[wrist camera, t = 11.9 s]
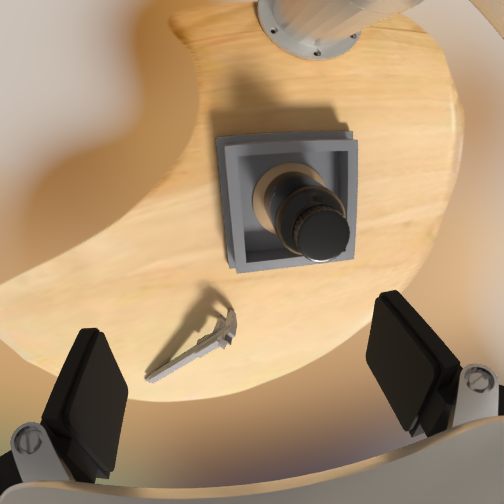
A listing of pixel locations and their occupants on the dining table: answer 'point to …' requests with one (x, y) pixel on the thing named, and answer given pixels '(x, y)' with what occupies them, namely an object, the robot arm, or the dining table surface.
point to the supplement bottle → (307, 216)
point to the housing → (259, 177)
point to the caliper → (201, 346)
